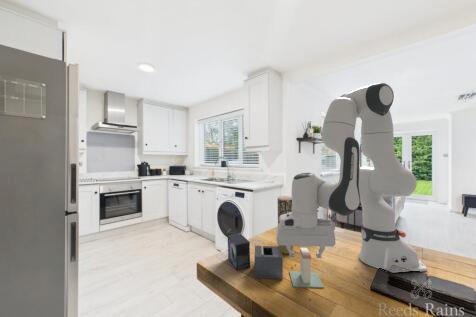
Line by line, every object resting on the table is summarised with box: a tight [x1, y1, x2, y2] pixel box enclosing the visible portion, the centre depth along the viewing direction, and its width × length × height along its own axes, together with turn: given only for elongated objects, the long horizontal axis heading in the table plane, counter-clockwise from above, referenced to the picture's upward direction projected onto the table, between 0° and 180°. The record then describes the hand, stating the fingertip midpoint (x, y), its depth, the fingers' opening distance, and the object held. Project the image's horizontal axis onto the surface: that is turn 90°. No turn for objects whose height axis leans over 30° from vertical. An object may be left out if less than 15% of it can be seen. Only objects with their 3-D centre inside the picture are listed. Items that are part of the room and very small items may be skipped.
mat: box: [288, 270, 324, 289], centre depth 74 cm, size 10×9×1 cm
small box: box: [227, 232, 251, 272], centre depth 87 cm, size 11×6×10 cm, turn 22°
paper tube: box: [277, 195, 294, 255], centre depth 96 cm, size 7×7×25 cm
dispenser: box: [254, 245, 284, 280], centre depth 79 cm, size 10×9×8 cm
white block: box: [299, 247, 312, 283], centre depth 74 cm, size 3×5×10 cm, turn 174°
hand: (305, 257), depth 74 cm, fingers open, 8 cm apart
